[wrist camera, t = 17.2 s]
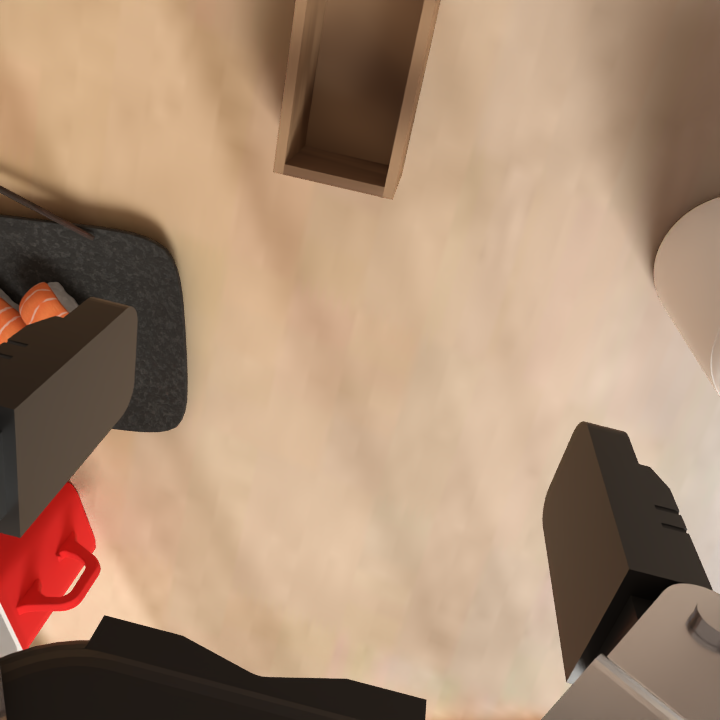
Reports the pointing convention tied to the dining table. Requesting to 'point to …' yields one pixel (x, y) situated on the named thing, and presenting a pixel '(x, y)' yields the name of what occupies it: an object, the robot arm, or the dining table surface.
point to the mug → (44, 569)
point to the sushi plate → (104, 281)
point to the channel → (353, 91)
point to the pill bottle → (694, 283)
